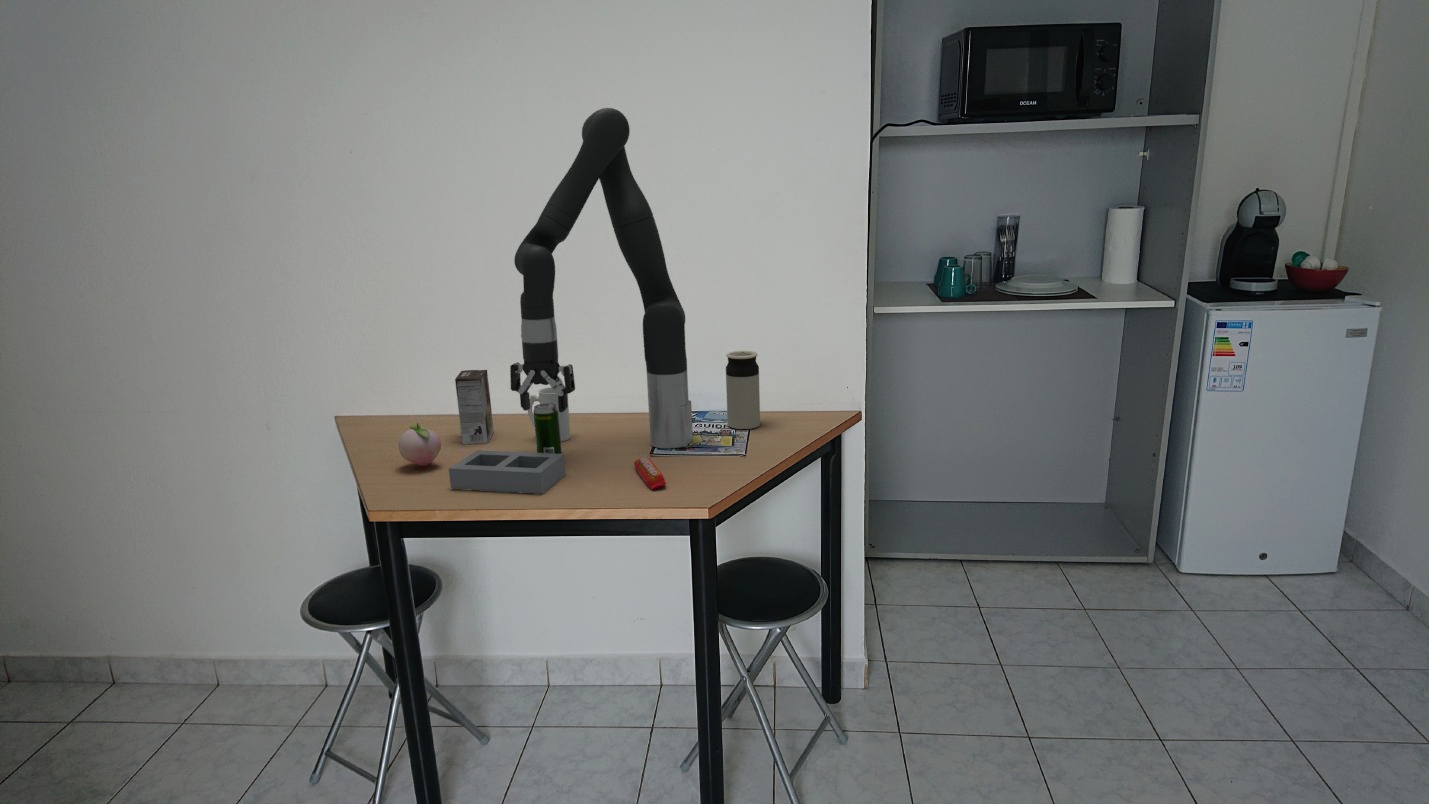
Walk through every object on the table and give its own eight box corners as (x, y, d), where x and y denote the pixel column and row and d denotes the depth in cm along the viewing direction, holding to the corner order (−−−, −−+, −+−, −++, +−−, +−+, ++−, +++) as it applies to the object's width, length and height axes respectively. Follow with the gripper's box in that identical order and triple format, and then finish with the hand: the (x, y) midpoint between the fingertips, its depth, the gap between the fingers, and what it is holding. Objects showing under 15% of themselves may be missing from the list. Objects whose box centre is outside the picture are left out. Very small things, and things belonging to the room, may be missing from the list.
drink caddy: (565, 474, 189) (564, 454, 188) (542, 494, 178) (540, 472, 177) (479, 470, 194) (477, 450, 193) (451, 489, 182) (448, 468, 181)
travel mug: (754, 431, 214) (752, 357, 210) (723, 429, 217) (720, 356, 213) (764, 422, 222) (762, 351, 217) (734, 420, 224) (731, 349, 220)
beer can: (564, 459, 199) (559, 407, 196) (539, 463, 197) (535, 410, 194) (559, 452, 204) (555, 401, 201) (535, 456, 202) (531, 404, 199)
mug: (575, 434, 217) (571, 386, 214) (566, 443, 211) (562, 393, 208) (535, 434, 219) (531, 386, 216) (525, 442, 212) (520, 393, 209)
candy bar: (632, 468, 192) (631, 455, 191) (649, 466, 193) (648, 453, 192) (650, 493, 177) (649, 479, 176) (668, 490, 178) (667, 476, 177)
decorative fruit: (393, 468, 197) (387, 424, 195) (426, 458, 203) (421, 416, 200) (416, 476, 191) (410, 431, 189) (449, 466, 197) (444, 422, 194)
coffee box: (468, 433, 221) (461, 370, 217) (494, 432, 222) (488, 368, 218) (461, 444, 213) (453, 378, 208) (488, 443, 213) (481, 377, 209)
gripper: (576, 336, 195) (581, 407, 200) (517, 334, 199) (522, 404, 203) (562, 342, 188) (567, 416, 193) (501, 340, 192) (507, 413, 196)
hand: (544, 410), depth 198 cm, fingers open, 8 cm apart
